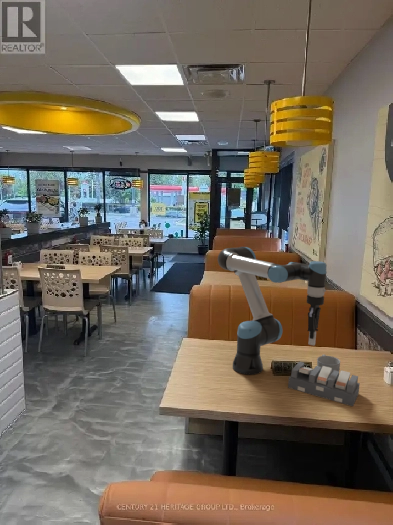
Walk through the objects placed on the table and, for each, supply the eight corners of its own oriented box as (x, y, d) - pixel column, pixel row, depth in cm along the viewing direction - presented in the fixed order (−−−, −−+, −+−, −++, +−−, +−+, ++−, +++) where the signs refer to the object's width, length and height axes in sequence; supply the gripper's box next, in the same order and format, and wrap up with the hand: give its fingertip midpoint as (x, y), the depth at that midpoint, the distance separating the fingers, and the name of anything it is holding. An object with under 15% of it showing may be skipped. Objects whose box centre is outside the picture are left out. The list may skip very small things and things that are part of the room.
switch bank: (287, 387, 174) (289, 370, 173) (297, 377, 185) (298, 360, 184) (352, 406, 159) (354, 387, 158) (358, 393, 170) (360, 375, 169)
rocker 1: (299, 371, 172) (299, 368, 172) (304, 370, 181) (305, 366, 181) (307, 374, 170) (308, 370, 170) (313, 372, 178) (313, 368, 179)
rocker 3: (335, 387, 165) (335, 384, 164) (340, 373, 172) (340, 370, 171) (345, 390, 162) (345, 386, 162) (350, 375, 170) (350, 372, 169)
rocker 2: (316, 382, 169) (316, 379, 168) (322, 368, 176) (322, 365, 176) (325, 384, 167) (325, 381, 166) (331, 370, 174) (331, 367, 174)
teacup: (340, 381, 182) (342, 365, 181) (317, 378, 185) (318, 362, 183) (336, 368, 196) (337, 354, 195) (314, 366, 198) (315, 351, 197)
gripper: (320, 299, 167) (316, 350, 171) (327, 293, 178) (323, 342, 182) (303, 296, 171) (299, 346, 175) (311, 291, 182) (307, 338, 186)
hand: (311, 344), depth 178 cm, fingers closed
